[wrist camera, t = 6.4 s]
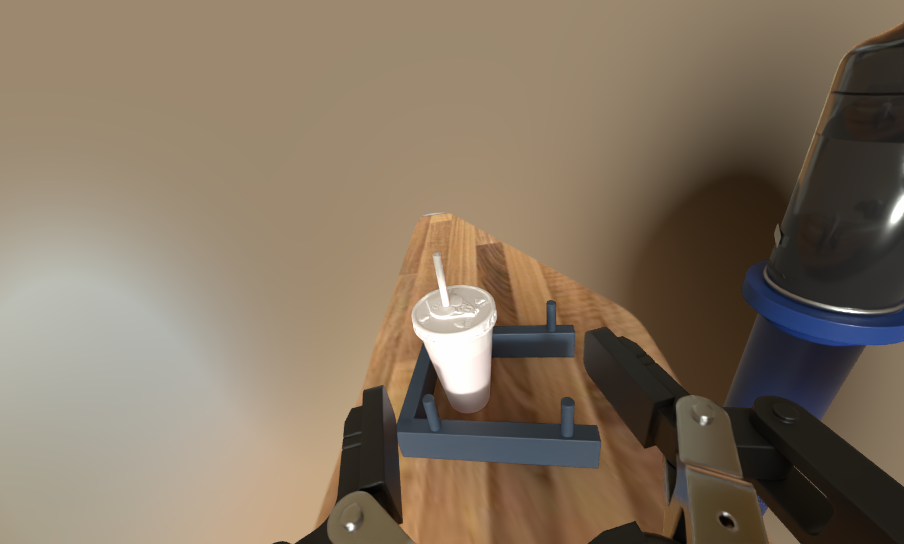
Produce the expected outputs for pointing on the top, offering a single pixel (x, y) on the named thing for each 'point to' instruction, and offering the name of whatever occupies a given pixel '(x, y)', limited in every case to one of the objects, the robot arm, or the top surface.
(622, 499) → the top surface
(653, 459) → the top surface
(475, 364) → the smoothie
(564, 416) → the rack
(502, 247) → the top surface
